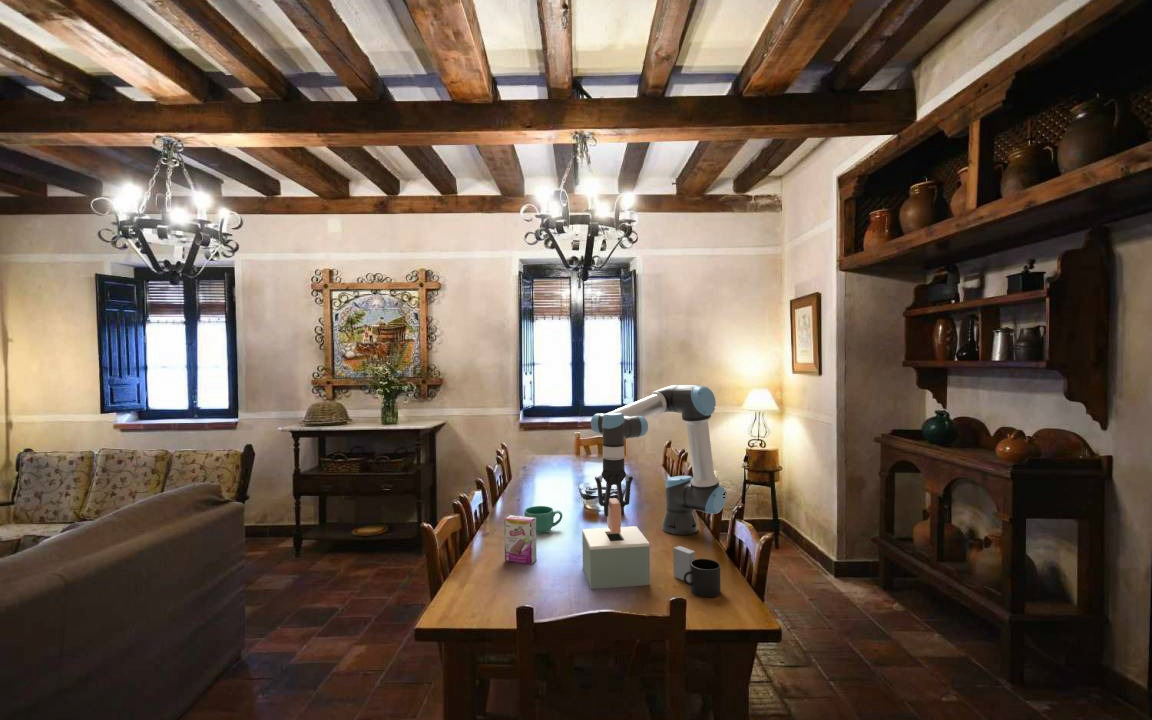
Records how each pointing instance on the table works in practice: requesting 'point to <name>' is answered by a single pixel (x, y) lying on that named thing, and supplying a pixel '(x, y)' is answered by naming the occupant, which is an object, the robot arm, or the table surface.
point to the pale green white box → (615, 557)
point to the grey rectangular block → (682, 562)
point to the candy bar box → (520, 539)
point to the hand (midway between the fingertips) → (614, 525)
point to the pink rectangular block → (615, 515)
